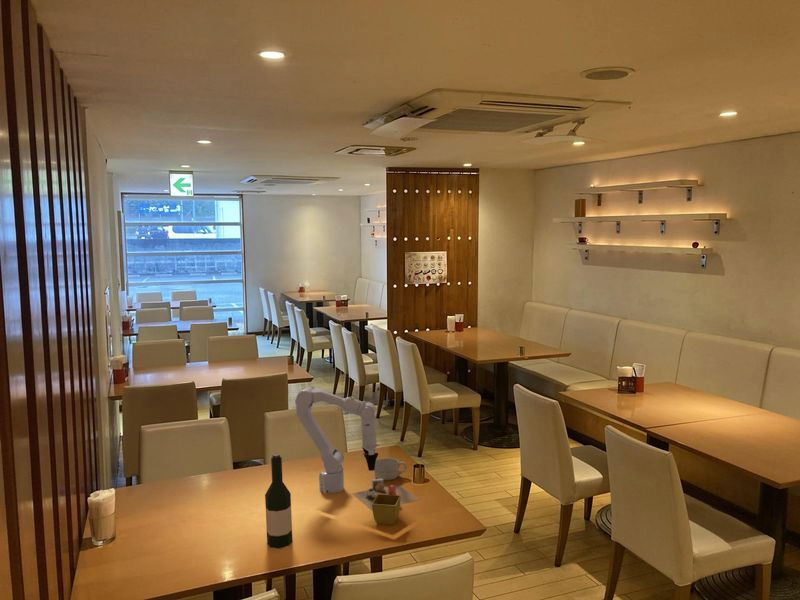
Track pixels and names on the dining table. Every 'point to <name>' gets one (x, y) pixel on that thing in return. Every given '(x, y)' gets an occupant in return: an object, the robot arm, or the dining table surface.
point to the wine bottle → (278, 508)
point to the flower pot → (386, 508)
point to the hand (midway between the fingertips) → (370, 466)
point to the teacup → (388, 468)
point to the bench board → (400, 491)
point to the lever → (373, 494)
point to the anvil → (376, 481)
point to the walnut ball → (379, 487)
